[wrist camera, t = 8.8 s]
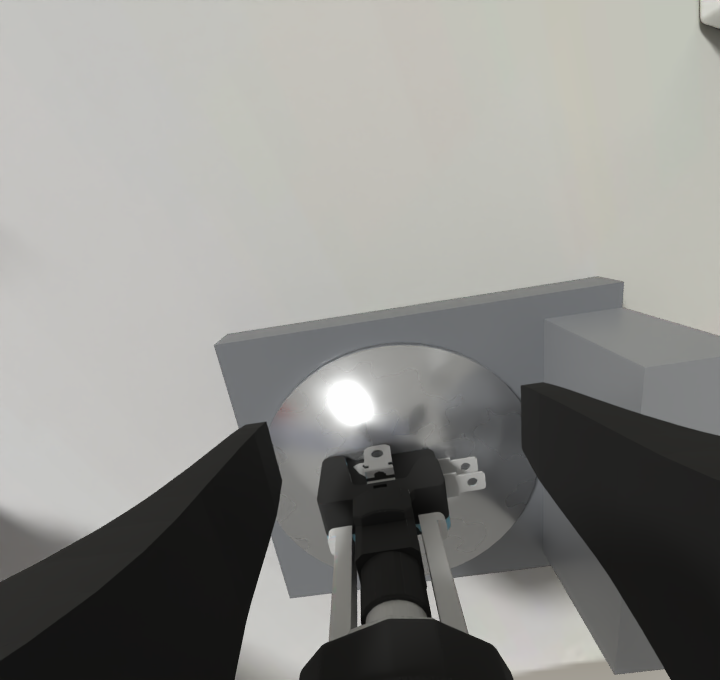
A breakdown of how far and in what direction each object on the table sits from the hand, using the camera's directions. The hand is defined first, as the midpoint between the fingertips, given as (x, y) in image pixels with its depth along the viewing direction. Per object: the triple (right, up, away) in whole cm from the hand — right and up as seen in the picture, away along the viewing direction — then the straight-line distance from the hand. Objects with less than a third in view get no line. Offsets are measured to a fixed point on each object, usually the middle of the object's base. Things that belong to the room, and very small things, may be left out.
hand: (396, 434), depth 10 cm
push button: (+1, -3, +5) cm, 6 cm away
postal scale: (+2, -2, +7) cm, 8 cm away
